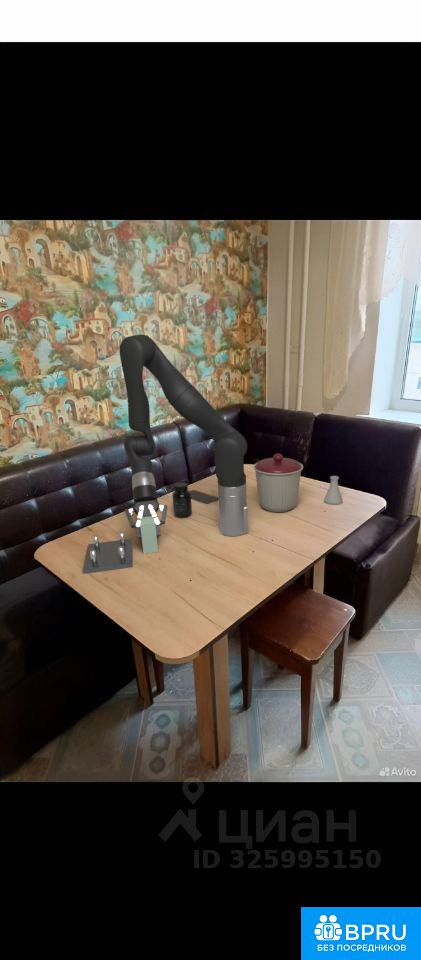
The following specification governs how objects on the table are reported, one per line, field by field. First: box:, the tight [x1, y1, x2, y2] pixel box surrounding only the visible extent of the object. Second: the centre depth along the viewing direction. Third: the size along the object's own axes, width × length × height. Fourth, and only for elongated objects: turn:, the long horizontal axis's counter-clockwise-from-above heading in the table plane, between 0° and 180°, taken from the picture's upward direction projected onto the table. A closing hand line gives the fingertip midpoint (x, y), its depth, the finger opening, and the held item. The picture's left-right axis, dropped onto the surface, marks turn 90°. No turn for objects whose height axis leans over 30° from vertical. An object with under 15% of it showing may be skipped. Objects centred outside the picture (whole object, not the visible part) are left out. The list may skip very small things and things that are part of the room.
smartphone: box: [189, 489, 219, 505], centre depth 168 cm, size 7×1×16 cm
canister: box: [252, 453, 304, 513], centre depth 151 cm, size 18×18×21 cm
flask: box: [323, 475, 343, 505], centre depth 156 cm, size 7×7×10 cm
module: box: [140, 516, 159, 555], centre depth 127 cm, size 4×6×10 cm
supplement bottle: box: [172, 482, 193, 519], centre depth 150 cm, size 7×7×12 cm
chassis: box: [82, 531, 134, 575], centre depth 124 cm, size 14×16×5 cm
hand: (149, 538), depth 125 cm, fingers closed on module, 4 cm apart
